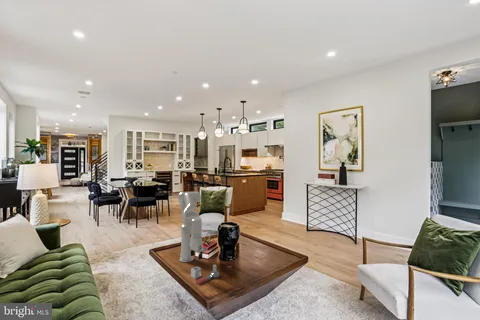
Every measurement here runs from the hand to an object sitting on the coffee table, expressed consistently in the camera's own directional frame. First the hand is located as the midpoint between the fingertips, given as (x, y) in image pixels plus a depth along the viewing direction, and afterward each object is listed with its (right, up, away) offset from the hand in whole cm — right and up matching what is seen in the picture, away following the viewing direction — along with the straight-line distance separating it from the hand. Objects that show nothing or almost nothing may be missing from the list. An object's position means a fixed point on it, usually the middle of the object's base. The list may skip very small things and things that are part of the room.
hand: (196, 257), depth 189 cm
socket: (0, -15, 0) cm, 15 cm away
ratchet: (+9, -15, -4) cm, 18 cm away
